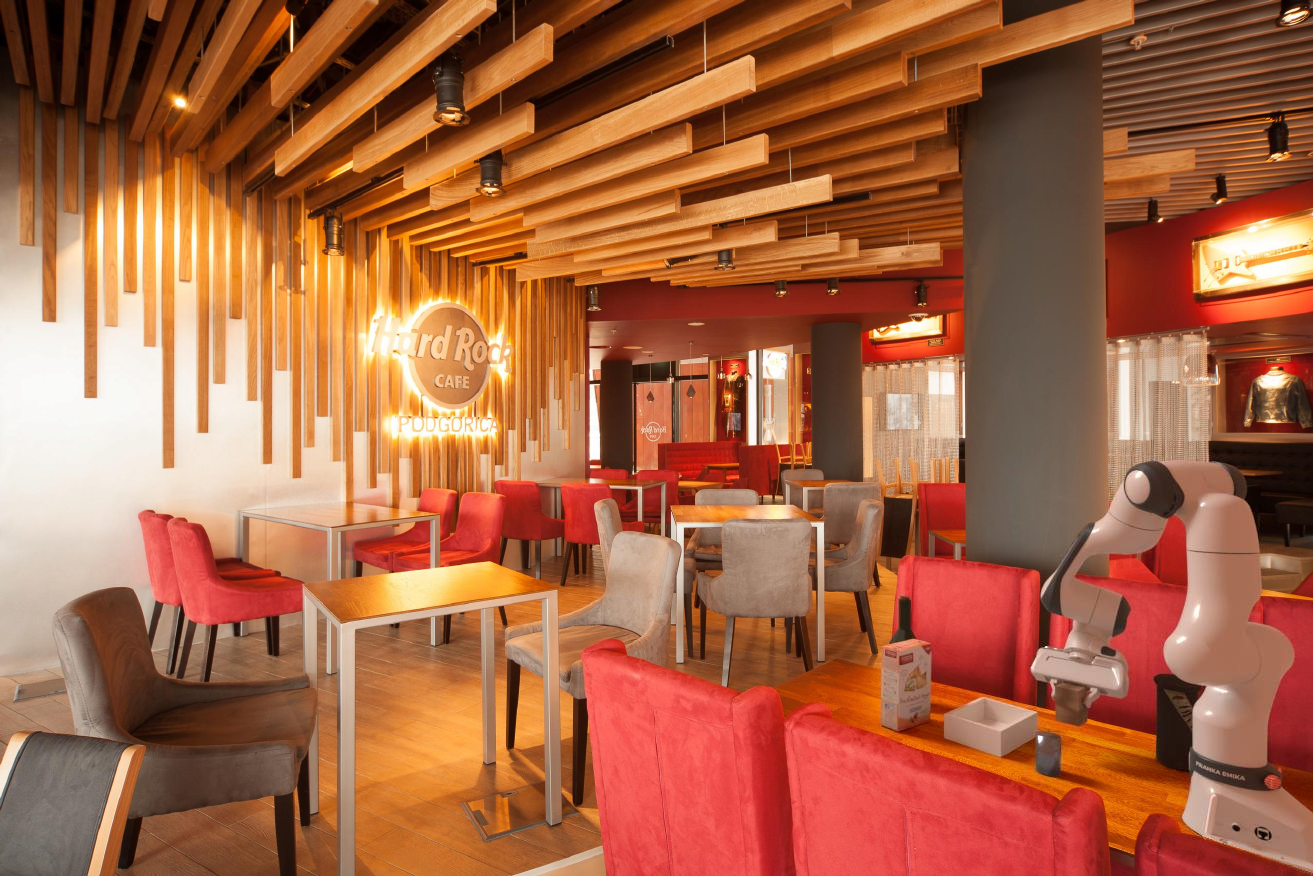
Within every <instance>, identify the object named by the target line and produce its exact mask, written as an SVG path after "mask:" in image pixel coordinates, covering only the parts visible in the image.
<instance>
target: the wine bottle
mask: <svg viewBox="0 0 1313 876" xmlns="http://www.w3.org/2000/svg"><path fill="white" fill-rule="evenodd" d="M911 639H917V640H918V638H917V637H916V636H915V634H914V632H913V630H912V599H911V598H910V596H908V595H900V598H898V628H897V630H896V632H895V633H894V635H893V636H892V637H891V639H890V640H889V644H893V643H898V642H902V641H906V640H911ZM889 644H888V645H889Z"/></svg>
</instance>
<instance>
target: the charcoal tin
mask: <svg viewBox="0 0 1313 876" xmlns="http://www.w3.org/2000/svg"><path fill="white" fill-rule="evenodd" d="M1034 758H1035V760H1034V761H1035V766H1034V767H1035V768H1034V770H1035V771H1036V772H1037V773H1039V774H1041V775H1043V776H1044V775H1045V776H1047V777H1056V778H1057V777H1059V776H1061V775H1062V774H1061V773H1062V764H1061V763H1062V737H1061V736H1060V735H1059V734H1057V733H1054V732H1051V731H1046V730H1045V731H1044V730H1038V732H1036V737H1035V757H1034Z"/></svg>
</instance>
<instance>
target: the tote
mask: <svg viewBox="0 0 1313 876" xmlns="http://www.w3.org/2000/svg"><path fill="white" fill-rule="evenodd" d="M1038 715H1039V714H1038V711H1034V710H1032V709H1031V710H1030V709H1028V708H1025V707H1021V706H1018V705H1014V704H1009V703H1007V702H1003V701H999V700H997V699H993V698H988V697H985V696H981V697H979V698H976V699H974V700H972V701H970V702H968V703H965V704H963V705H961V706H958V707H957V708H954V709H952V710H949V711H948V712H945V713H943V739H945V740H949V741H952V742H955V743H957V744H961V745H963V746H966V747H969V748H972V749H975V750H978V751H981V752H983V753H987V754H990V755H993V756H996V757H998V758H1002V757H1004V756H1006V755H1007V754H1009V753H1011V752H1012V751H1014V750H1016V749H1018V748H1019V747H1022V746H1023V745H1025V744H1026V743H1028V742H1030V741H1031V740H1033V739H1036V732H1038V731H1039V728H1038V726H1039V724H1038V722H1039V721H1038V719H1039V718H1038Z"/></svg>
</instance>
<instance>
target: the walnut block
mask: <svg viewBox="0 0 1313 876" xmlns="http://www.w3.org/2000/svg"><path fill="white" fill-rule="evenodd" d="M1087 692H1088V691H1087V687H1085V686H1080V685H1075V684H1071V683H1066V682H1062V683H1060V684H1058V685H1056V686H1055V700H1054V703H1055V705H1054V706H1055V722H1060V723H1064V724H1066V725H1067V724H1068V725H1072V726H1075V727H1081V726H1083V725H1084V724H1086V723H1087V722H1089V721H1088V708H1087V707H1083V706H1082V705H1081V700H1082V697H1087V696H1088V693H1087Z"/></svg>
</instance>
